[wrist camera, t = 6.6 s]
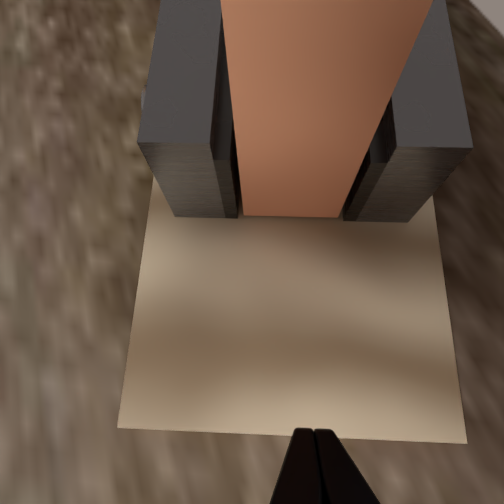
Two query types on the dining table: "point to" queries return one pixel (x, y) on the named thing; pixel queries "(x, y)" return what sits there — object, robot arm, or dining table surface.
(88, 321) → the dining table surface
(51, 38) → the dining table surface
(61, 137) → the dining table surface
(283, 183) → the peg post
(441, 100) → the band block
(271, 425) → the base board
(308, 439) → the robot arm
